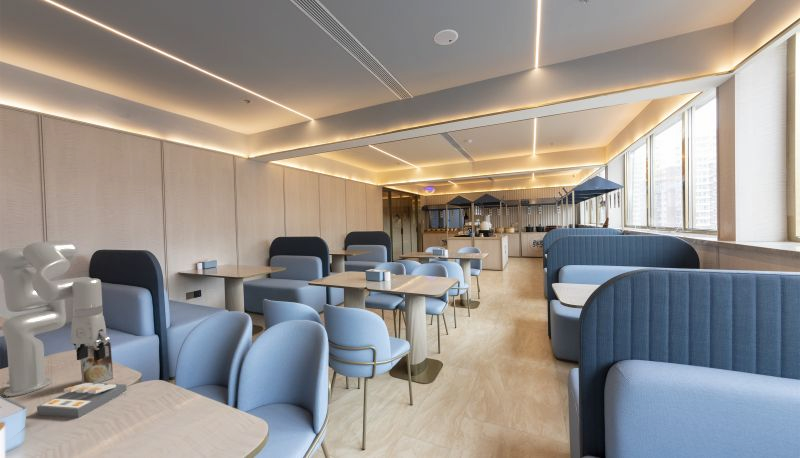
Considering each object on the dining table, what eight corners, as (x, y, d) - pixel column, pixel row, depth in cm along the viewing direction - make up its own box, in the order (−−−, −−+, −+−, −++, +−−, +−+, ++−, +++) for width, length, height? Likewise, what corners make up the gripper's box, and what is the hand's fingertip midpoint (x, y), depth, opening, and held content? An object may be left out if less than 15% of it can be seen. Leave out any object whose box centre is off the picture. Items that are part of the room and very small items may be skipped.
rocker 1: (63, 391, 113) (64, 388, 113) (85, 385, 120) (85, 382, 120) (71, 392, 113) (71, 388, 113) (92, 386, 119) (93, 383, 120)
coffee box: (110, 374, 136) (108, 339, 135) (113, 378, 132) (111, 342, 131) (81, 383, 128) (79, 346, 128) (83, 388, 124) (81, 350, 124)
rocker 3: (87, 393, 111) (88, 389, 112) (108, 386, 118) (108, 383, 118) (95, 393, 111) (96, 390, 111) (115, 387, 118) (116, 384, 118)
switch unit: (37, 414, 107) (36, 404, 107) (89, 389, 123) (89, 380, 123) (78, 417, 104) (78, 407, 104) (126, 391, 120) (126, 382, 120)
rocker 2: (75, 392, 112) (76, 389, 112) (96, 386, 119) (97, 383, 119) (83, 392, 112) (83, 389, 112) (104, 386, 119) (104, 383, 119)
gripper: (56, 314, 109) (59, 362, 109) (96, 315, 106) (99, 364, 106) (81, 308, 116) (83, 353, 116) (118, 309, 113) (121, 355, 114)
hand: (91, 358), depth 111 cm, fingers open, 6 cm apart
